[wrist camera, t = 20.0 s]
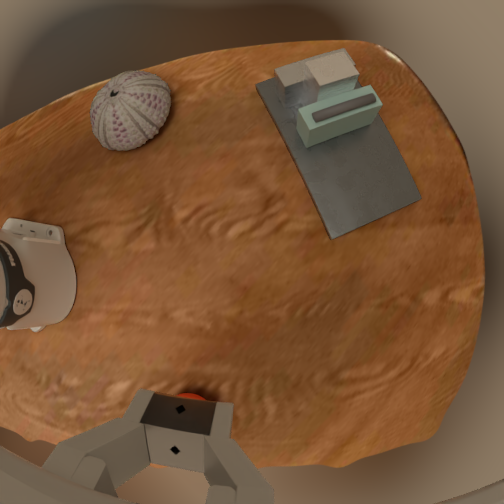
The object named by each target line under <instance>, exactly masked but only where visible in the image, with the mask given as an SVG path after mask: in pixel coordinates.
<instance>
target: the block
mask: <svg viewBox="0 0 504 504" xmlns="http://www.w3.org/2000/svg"><path fill="white" fill-rule="evenodd" d="M358 76H359V72H358V71H357V70H356V68H355V67H354V65H353V64H352V62H351V61H350V60H349V58H348V57H347V55H346V54H345V53H344V51H343V52H339V53H335V54H332V55H328V56H325V57H321V58H318V59H314V60H311V61H308V62H305V66H304V77H303V88H302V99H301V104H302V105H303V107H305V106H307V105H310V104H313V103H316V102H319V101H322V100H324V99H327V98H330V97H333V96H336V95H339V94H343V93H346V92H349V91H352V90H353V89H354V87H355V84H356V82H357V79H358Z"/></svg>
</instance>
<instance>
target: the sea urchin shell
mask: <svg viewBox="0 0 504 504" xmlns="http://www.w3.org/2000/svg"><path fill="white" fill-rule="evenodd" d="M170 91H171V90H170V89H169V87H168V84H167V83H165V81H163V80H161V78H159V77H158V76H156V74H151V73H149V72H144V71H136V70H135V71H126V72H123V73H121V74H119V75H117V76H116V77H113V78H111V80H110V81H109V82H108V83H107V84H106V85H105V86H104V87H103V88H102V89H101V90H99V91H98V92H97V95H96V96H95V97H94V99H93V101H92V104H91V109H90V110H91V111H90V117H91V120H90V121H91V124H92V128H93V129H92V130H93V131H92V132H93V134H94V135H95V137H96V138H98V140H99V141H100V143H101V144H102V147H105V148H108V149H109V150H110V149H112V150H114V149H116V150H118V151H120V150H122V151H123V150H125V151H127V150H130V149H135V148H136V147H141V145H142V144H145V142H146V141H147V140H148V139H152V138H153V136H154V135H155V134H158V132H159V128H160V127H161V126H163V125H164V122H165V121H166V117H167V116H168V115H169V114H168V113H169V110H170V106H171V101H170V99H171V97H170Z"/></svg>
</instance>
